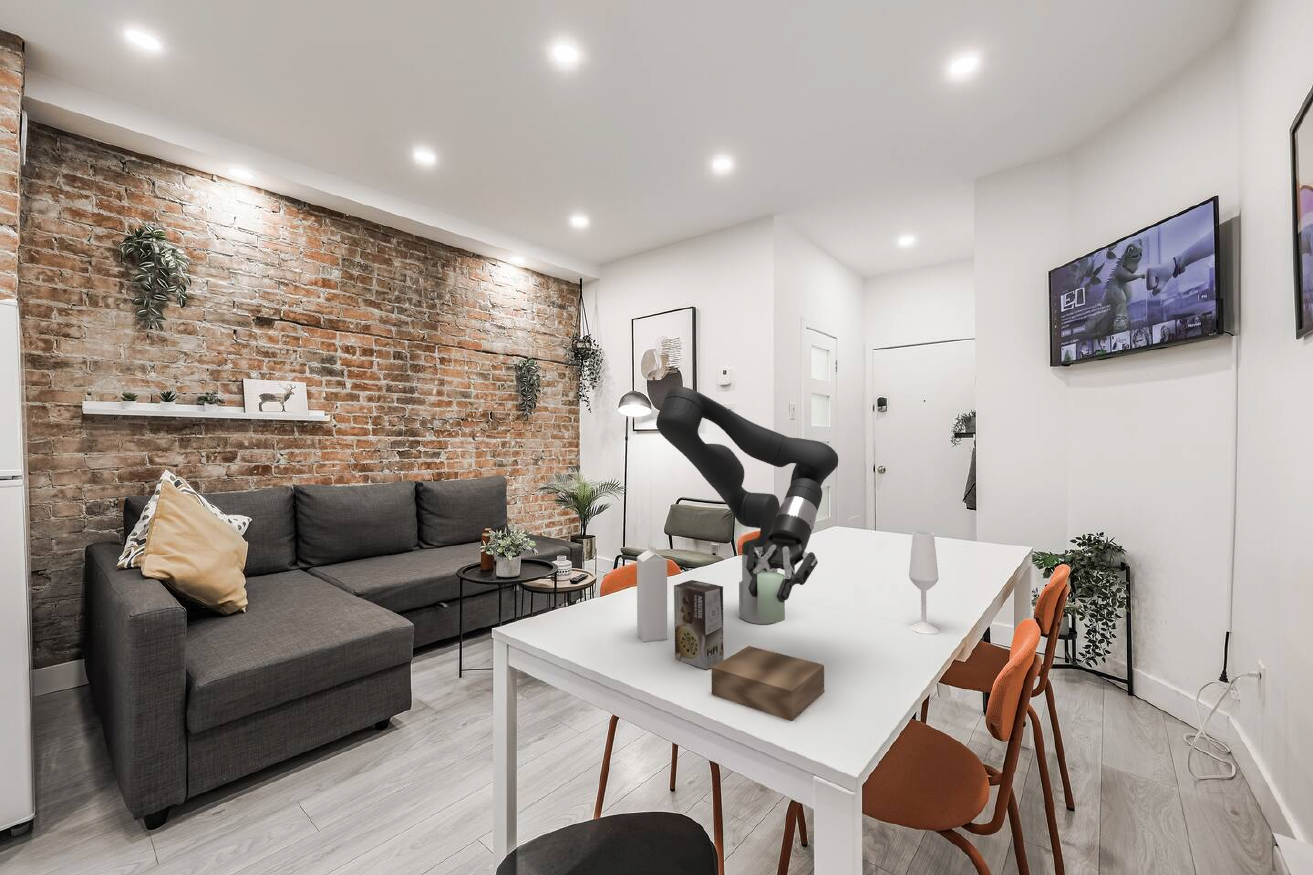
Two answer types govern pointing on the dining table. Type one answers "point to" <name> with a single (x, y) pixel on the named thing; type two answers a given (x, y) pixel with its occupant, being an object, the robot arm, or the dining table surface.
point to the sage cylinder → (769, 597)
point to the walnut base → (768, 681)
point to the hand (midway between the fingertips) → (766, 597)
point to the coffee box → (698, 623)
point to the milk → (651, 596)
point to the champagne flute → (923, 573)
